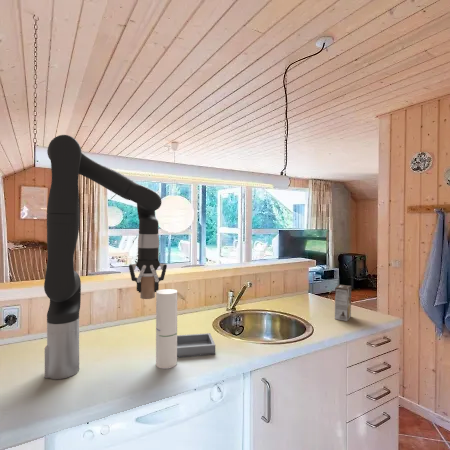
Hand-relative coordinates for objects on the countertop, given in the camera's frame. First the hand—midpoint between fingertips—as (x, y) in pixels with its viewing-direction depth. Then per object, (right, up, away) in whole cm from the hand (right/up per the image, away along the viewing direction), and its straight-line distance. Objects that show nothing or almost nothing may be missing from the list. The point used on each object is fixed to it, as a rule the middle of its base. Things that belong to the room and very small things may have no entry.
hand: (147, 291), depth 115 cm
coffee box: (+89, -23, +44) cm, 102 cm away
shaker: (0, -2, 0) cm, 2 cm away
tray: (+16, -23, +4) cm, 28 cm away
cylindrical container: (+8, -23, -8) cm, 26 cm away
